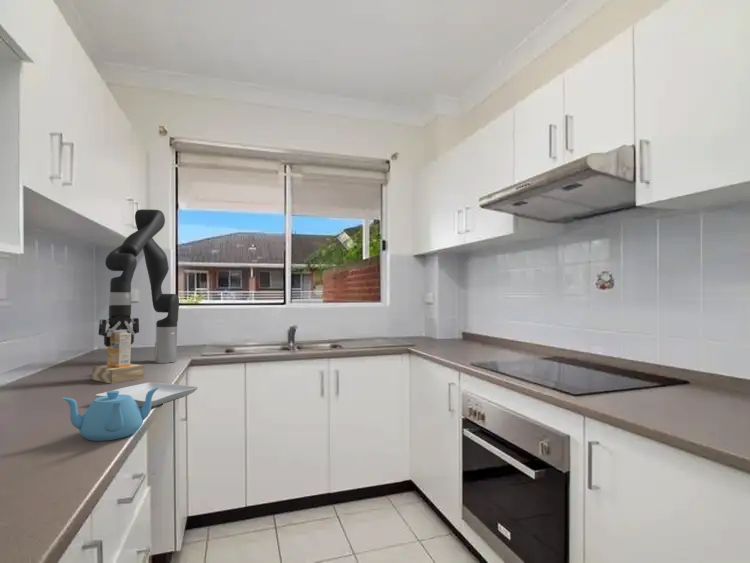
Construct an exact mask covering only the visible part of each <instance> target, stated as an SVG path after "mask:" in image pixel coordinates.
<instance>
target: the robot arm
mask: <svg viewBox="0 0 750 563" xmlns="http://www.w3.org/2000/svg"><path fill="white" fill-rule="evenodd" d="M165 218H166V217H165V214H164V212H163V211H162V210H159V209H147V208H146V209H137V210H136V211H135V214H134V219H135V220H134V221H135V226H136V229H137V230H136V231H134V232H133V233H131V234H130V235H128V236H127V237H126V239H125V240H124V241H123V242H122V244H121V245H120V246H118V247H116V248H115V249H113V250H112V251H111V252H109V254H107V256H106V258H105V266H106V268H107V269H108V271H112V272H121V275H120V276H116V277H112V278H111V279H110V281H109V282H110V285H109V287H110V288H109V296H108V297H109V298H108V319H103V318H102V319H99V324H98V336H101V337H103V345H104V346H105V347H107V348H108V347H110V338H111V337H109V336H110V335H111V334H112V333H113V332H116V331H121V330H123V331H125V332H126V333H131V345H133V344H134V342H135V341H134V340H135V335H136V334H138V333H140V322H139V320H140V319H139V318H138V317H133V318H132V317H131V316H132V281H133V277H134V274H135V271H136V268H137V258H136V257H138V256H139V255H140V253H141V252H142V251H143V255H144V261H145V264H146V270H147V275H148V279H149V284H150V291H151V293H150V294H151V302H152V307H153V309H154V311H155V312H156V313H162V314H163V313H165V314H166V313H167V316H166V317H164V318H162V319H158V320H157V321H156V323H155V327H156V328H155V329H156V330H155V342H154V363H157V364H169V363H170V362H171V363H175V361H176V362H177V353H178V352H177V351H178V348H177V347H178V345H177V344H178V321H179V312H180V308H179V307H180V299H179V296H178V295H177V294H176V293H163V292H162V285H163V282H164V280H165V278H166V277H167V274H168V273H169V269H170V267H169V261H168V257H167V254H166V252H165V251H164V250H163V249H162V247H160V245H158V244H157V242H156V241H155V239H154V236H156V235H157V234H158V233H159V232H160V231H161V230H162V229H163V228H164V226H165V224H166V219H165ZM108 324H109V325H108ZM131 324H132V325H131ZM107 325H108V327H107Z"/></svg>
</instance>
